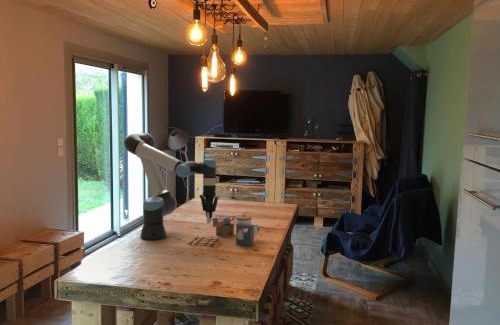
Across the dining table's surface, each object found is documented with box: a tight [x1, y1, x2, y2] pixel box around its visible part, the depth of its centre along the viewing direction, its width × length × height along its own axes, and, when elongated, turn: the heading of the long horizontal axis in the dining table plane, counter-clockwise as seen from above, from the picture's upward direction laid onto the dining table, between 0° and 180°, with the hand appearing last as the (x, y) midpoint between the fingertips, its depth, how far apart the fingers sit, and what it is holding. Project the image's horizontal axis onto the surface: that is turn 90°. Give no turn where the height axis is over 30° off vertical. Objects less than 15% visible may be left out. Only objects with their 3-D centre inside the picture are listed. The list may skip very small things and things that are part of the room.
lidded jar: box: [234, 213, 253, 230], centre depth 292 cm, size 11×11×9 cm
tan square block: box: [215, 222, 235, 238], centre depth 275 cm, size 8×8×7 cm
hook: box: [237, 224, 260, 240], centre depth 259 cm, size 20×4×6 cm, turn 152°
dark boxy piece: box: [235, 223, 255, 248], centre depth 256 cm, size 4×10×12 cm, turn 62°
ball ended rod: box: [212, 216, 231, 228], centre depth 270 cm, size 16×6×5 cm, turn 152°
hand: (209, 222), depth 270 cm, fingers closed
